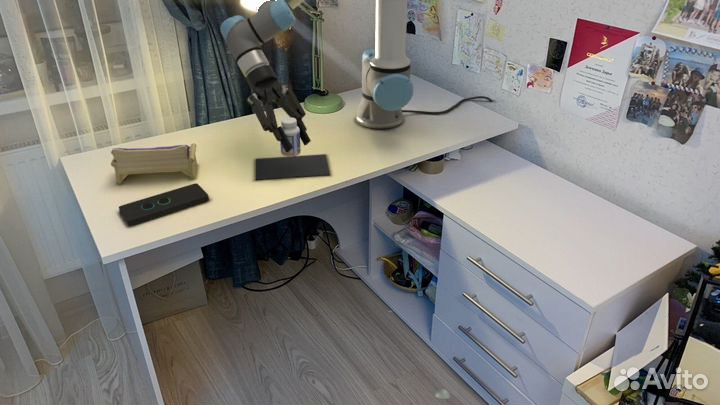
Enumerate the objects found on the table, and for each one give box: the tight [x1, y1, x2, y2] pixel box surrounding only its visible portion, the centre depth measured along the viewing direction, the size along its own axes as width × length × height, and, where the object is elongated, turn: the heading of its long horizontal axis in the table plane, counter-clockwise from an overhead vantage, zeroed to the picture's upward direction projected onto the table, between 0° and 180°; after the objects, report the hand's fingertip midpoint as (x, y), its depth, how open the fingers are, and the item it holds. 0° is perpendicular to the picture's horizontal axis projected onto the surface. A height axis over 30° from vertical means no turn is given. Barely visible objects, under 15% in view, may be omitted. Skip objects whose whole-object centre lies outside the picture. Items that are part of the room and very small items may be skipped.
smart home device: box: [118, 182, 210, 227], centre depth 139 cm, size 8×2×20 cm
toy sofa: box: [110, 142, 198, 185], centre depth 151 cm, size 21×9×10 cm, turn 99°
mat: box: [255, 153, 331, 181], centre depth 157 cm, size 20×12×1 cm, turn 99°
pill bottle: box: [279, 116, 302, 157], centre depth 151 cm, size 5×5×10 cm
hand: (298, 146), depth 150 cm, fingers closed on pill bottle, 5 cm apart
